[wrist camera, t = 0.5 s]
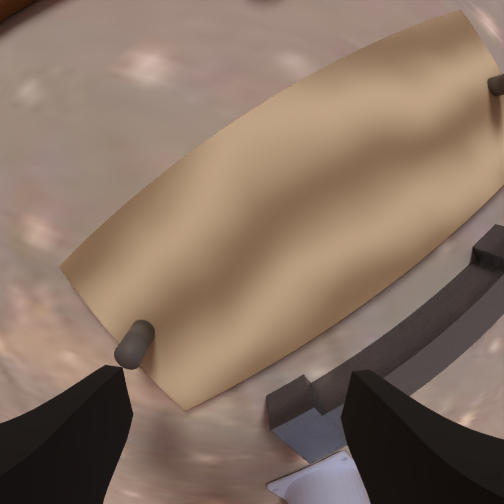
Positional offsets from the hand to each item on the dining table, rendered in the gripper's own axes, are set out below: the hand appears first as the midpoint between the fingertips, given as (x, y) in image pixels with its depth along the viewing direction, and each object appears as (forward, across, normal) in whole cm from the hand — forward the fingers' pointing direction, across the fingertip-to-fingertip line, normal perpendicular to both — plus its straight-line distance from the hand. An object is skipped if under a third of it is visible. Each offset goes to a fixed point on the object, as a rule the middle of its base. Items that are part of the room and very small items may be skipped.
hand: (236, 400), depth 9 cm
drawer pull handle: (+9, -12, +3) cm, 15 cm away
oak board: (+9, -6, -7) cm, 13 cm away
